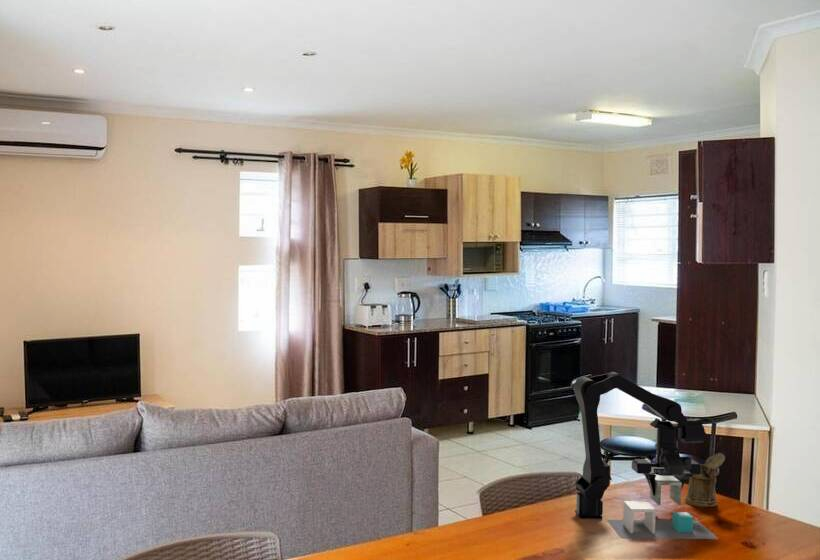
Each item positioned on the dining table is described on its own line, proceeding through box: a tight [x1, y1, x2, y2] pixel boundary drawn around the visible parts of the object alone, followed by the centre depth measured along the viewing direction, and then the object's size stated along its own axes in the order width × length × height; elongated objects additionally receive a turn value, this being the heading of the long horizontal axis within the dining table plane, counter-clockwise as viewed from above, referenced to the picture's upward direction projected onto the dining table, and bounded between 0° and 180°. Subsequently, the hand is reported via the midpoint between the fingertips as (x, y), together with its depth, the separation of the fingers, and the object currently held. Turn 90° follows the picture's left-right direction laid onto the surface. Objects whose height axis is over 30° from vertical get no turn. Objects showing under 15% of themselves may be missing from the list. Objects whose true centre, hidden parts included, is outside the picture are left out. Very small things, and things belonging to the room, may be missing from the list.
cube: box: [672, 511, 694, 532], centre depth 207 cm, size 4×4×4 cm
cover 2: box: [649, 475, 683, 506], centre depth 220 cm, size 7×7×6 cm
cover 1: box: [622, 500, 657, 533], centre depth 206 cm, size 7×7×6 cm
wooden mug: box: [684, 451, 726, 508], centre depth 228 cm, size 9×14×18 cm, turn 10°
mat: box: [606, 519, 719, 540], centre depth 207 cm, size 26×14×1 cm, turn 91°
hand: (665, 496), depth 220 cm, fingers closed on cover 2, 7 cm apart
